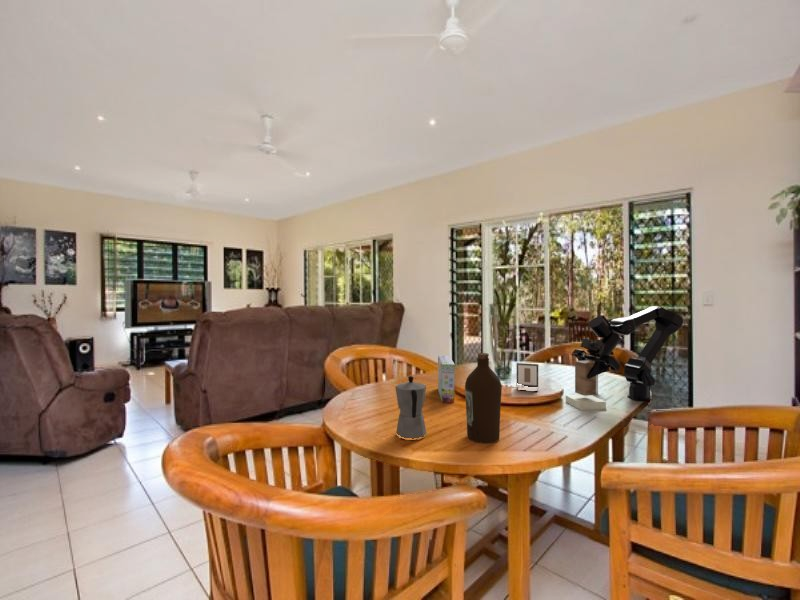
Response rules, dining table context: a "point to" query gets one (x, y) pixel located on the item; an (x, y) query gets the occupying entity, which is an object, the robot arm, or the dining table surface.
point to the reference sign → (527, 374)
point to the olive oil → (483, 402)
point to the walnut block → (584, 378)
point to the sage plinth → (585, 402)
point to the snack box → (446, 378)
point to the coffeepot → (411, 409)
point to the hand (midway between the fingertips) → (582, 376)
